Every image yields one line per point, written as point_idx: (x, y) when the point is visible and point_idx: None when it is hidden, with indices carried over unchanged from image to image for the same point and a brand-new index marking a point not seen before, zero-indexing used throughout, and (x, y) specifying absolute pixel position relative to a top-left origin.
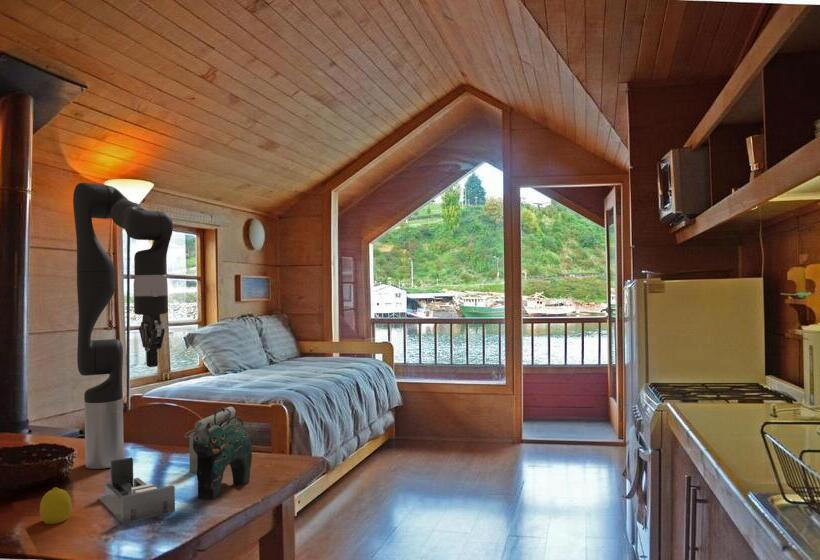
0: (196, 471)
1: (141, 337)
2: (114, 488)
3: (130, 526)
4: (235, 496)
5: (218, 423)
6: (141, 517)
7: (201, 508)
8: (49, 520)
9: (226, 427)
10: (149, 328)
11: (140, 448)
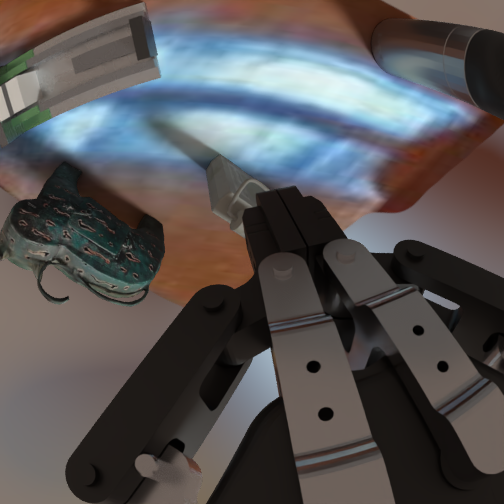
0: (210, 169)
1: (490, 282)
2: (103, 30)
3: None
4: None
5: None
6: None
7: (51, 164)
8: None
9: (66, 275)
10: (268, 494)
11: (444, 121)
